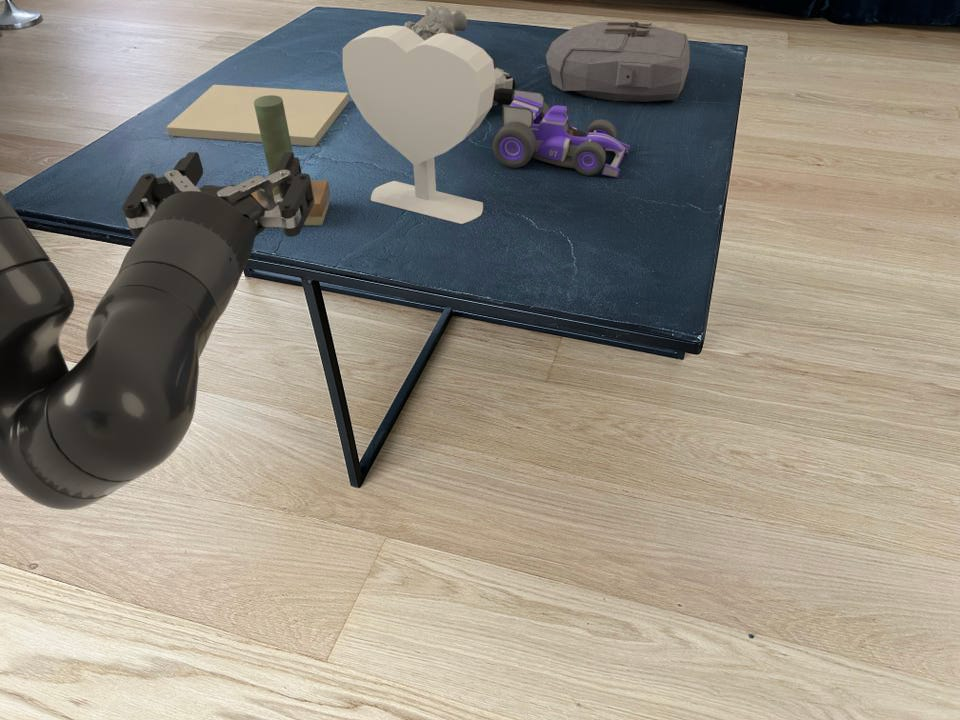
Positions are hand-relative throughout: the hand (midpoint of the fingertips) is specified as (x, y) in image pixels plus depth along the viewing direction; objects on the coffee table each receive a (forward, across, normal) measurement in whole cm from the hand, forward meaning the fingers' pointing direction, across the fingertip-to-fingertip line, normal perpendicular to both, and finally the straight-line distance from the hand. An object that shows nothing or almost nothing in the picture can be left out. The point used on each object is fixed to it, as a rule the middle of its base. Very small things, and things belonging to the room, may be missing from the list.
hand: (243, 161), depth 67 cm
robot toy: (+39, -18, +12) cm, 44 cm away
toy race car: (+24, -30, +12) cm, 40 cm away
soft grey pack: (+46, -39, +12) cm, 61 cm away
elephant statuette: (+55, -13, +12) cm, 57 cm away
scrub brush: (+10, 0, +12) cm, 15 cm away
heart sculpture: (+13, -15, +12) cm, 23 cm away
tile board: (+35, +9, +12) cm, 38 cm away
